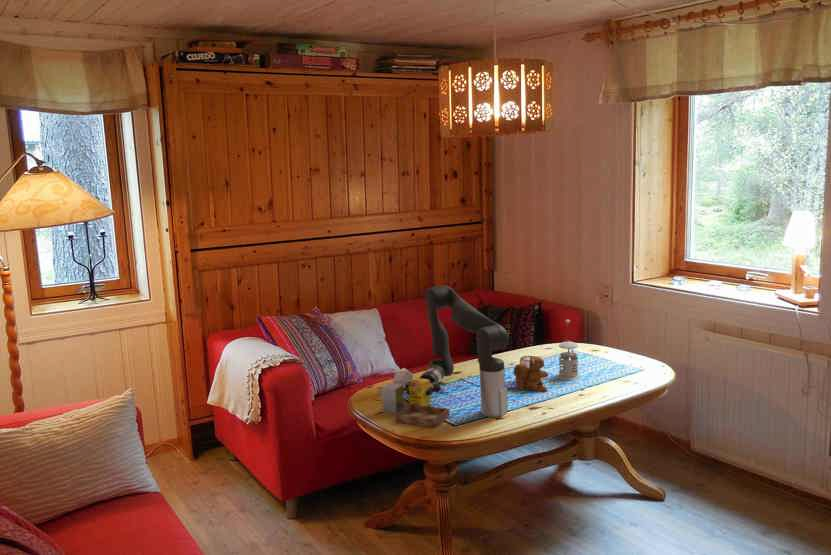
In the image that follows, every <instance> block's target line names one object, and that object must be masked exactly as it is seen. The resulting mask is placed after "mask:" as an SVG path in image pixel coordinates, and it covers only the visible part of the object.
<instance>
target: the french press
mask: <svg viewBox="0 0 831 555" xmlns="http://www.w3.org/2000/svg"><path fill="white" fill-rule="evenodd" d="M565 323H566V324H567V326H569V324H571V320H570V319H565ZM558 347H559V348H560V349H565V350H567V351H565V352H563V351H562V352H561V353H559V357H558V363H559V365H558V367H559V368H558V370H559V372H558V374H557V378H558V379H560V380H564V381H565V380H567V381H572V380H578V379H580V378H581V375H580V374H579V359H578V357H577V356H578V354H577V353H576V352H574V350H573V349H576V348H578V347H579V345H578V343H576V342H574V341H571V340H570V341H569V340H567V341H563V342H561V343H559V344H558ZM570 350H571V352H570Z"/></svg>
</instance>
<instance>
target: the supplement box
mask: <svg viewBox="0 0 831 555" xmlns="http://www.w3.org/2000/svg"><path fill="white" fill-rule="evenodd" d="M428 388H430V383H429V379H422V378H420V377H415V378H413V379H412V380H411V381H409V396H408V397H409V405H411V404H417V405H425V406H431V395H429V396H427V390H428Z"/></svg>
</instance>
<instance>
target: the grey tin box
mask: <svg viewBox="0 0 831 555" xmlns="http://www.w3.org/2000/svg"><path fill="white" fill-rule="evenodd" d="M381 398H382V399H381V401H382V413H383V414H390V415H391V414H392V415H396V414H398V413H399V412H400V411H402V410H403V409H405V398H404V389H403V385H402V384H394V383H393V382H392V383H391V382H388V383H387V384H385V385H384V386H382V387H381Z"/></svg>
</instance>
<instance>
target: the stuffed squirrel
mask: <svg viewBox="0 0 831 555" xmlns="http://www.w3.org/2000/svg"><path fill="white" fill-rule="evenodd" d="M542 368H544V369H545V368H546V366H545V360H544V359H543V358H542V357H539V356H532V355H531V356H529V366H527V364H524V363H523V364H519V363H518V364H516V365H515V366H514V367H513V374H514V376H515V377H514V378H515V384H516V386H517V387H518V388H519V389H520V390H529V391H533V392H539V393H540V392H541V393H542V392H547V391H548V387H546V386H545V385H544V384H545V382H544V381H543V379H545V378H547V377H548V376H549V373H548V372H547V371H546V370H543V369H542Z"/></svg>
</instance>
